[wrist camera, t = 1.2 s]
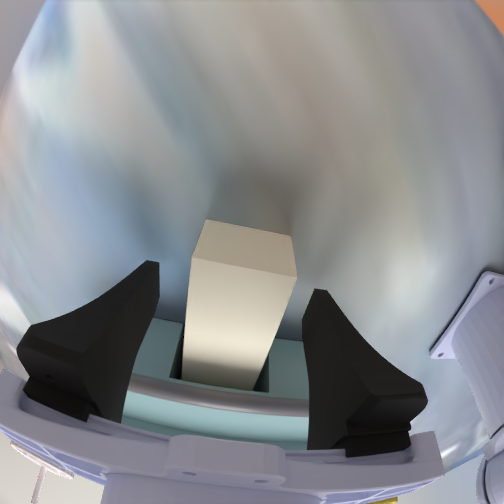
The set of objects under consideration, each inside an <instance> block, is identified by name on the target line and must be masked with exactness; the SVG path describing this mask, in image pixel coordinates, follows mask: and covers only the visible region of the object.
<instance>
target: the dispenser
mask: <svg viewBox="0 0 504 504" xmlns="http://www.w3.org/2000/svg"><path fill="white" fill-rule="evenodd" d="M182 347H183V323H177V322H172V321H167V320H163V319H158V318H153V319H152V321H151V323H150V325H149V328H148V330H147V332H146V335H145V337H144V339H143V342H142V344H141V346H140V349H139V351H138V354H137V356H136V359H135V363H134V366H133V370H132V374H131V378H130V382H129V386H128V390H127V394H126V399H125V404H124V409H123V415H122V421H121V424H123V425H127V426H130V427H134V428H138V429H142V430H145V431H150V432H154V433H158V434H162V435H167V436H172V437H174V436H178V435H196V436H203V437H209V438H217V439H224V440H232V441H242V442H253V443H265V444H271V445H276V446H278V447H280V448H282V449H284V450H307V441H308V426H309V381H308V373H307V366H306V359H305V353H304V346H303V341H294V340H285V339H277V338H274V340H273V342H272V345H271V347H270V350H269V352H268V355H267V357H266V359H265V362H264V364H263V367H262V369H261V371H260V374H259V376H258V379H257V381H256V383H255V386H254V388H253V390H252V391H246V390H238V389H231V388H224V387H217V386H211V385H205V384H199V383H193V382H188V381H183V380H182Z"/></svg>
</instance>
